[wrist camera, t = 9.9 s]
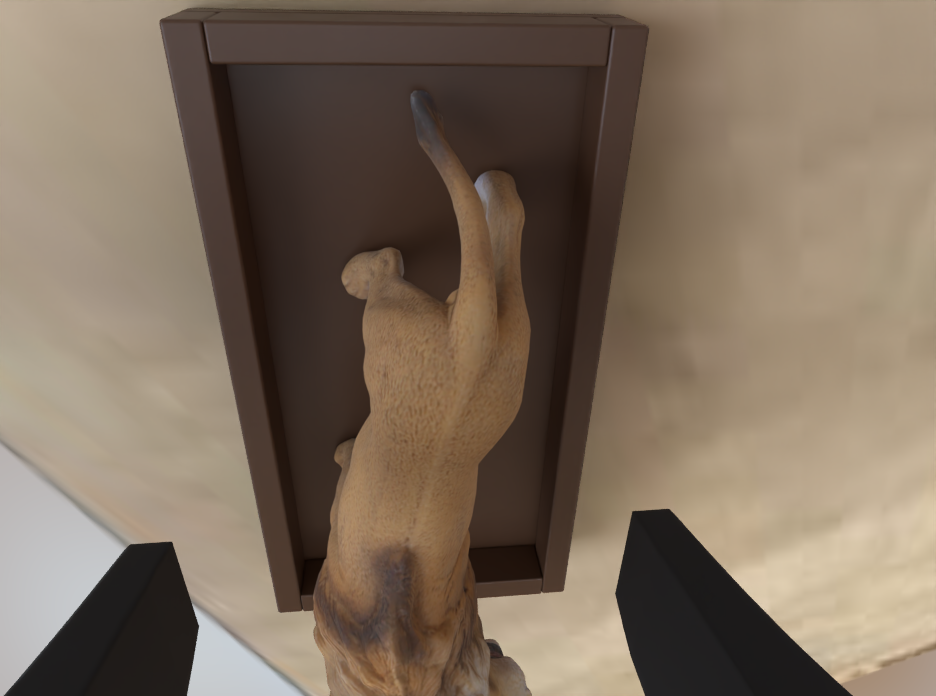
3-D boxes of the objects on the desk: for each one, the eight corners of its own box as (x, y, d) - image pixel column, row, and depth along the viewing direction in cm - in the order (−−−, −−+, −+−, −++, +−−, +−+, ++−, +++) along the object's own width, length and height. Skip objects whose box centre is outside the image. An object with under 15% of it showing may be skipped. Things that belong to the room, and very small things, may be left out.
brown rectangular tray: (620, 14, 15) (650, 25, 13) (551, 544, 24) (564, 592, 23) (185, 8, 14) (156, 18, 12) (286, 562, 24) (278, 613, 22)
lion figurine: (493, 533, 23) (547, 829, 15) (337, 543, 22) (313, 855, 15) (527, 85, 15) (668, 239, 8) (289, 82, 15) (188, 245, 7)
